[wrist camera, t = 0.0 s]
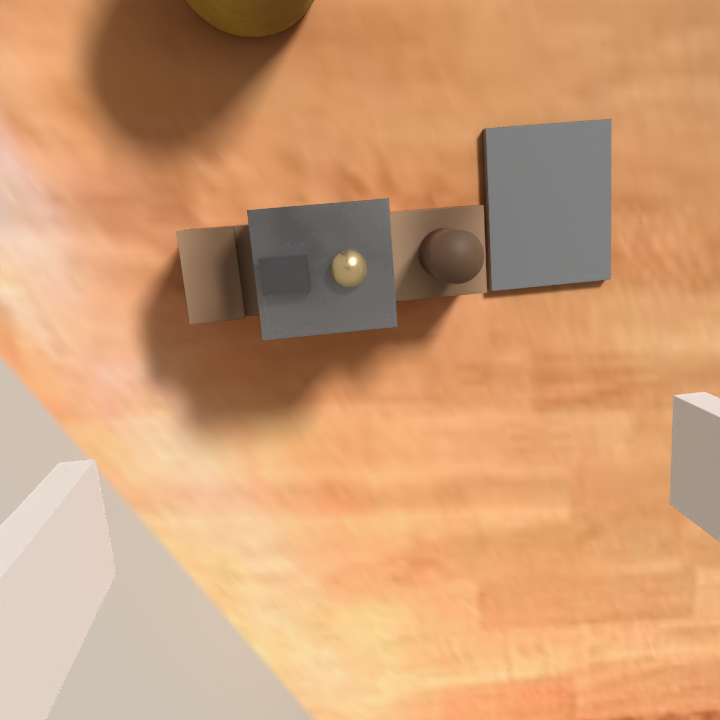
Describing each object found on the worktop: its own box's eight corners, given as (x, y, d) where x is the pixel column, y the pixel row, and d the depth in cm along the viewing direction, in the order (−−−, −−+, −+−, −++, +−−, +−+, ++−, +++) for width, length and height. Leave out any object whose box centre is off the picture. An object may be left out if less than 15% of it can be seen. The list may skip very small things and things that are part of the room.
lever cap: (265, 327, 37) (261, 343, 33) (251, 210, 36) (246, 210, 31) (386, 315, 38) (400, 329, 33) (377, 200, 36) (390, 198, 32)
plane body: (202, 309, 41) (182, 332, 33) (191, 229, 40) (167, 232, 32) (466, 284, 42) (506, 300, 35) (462, 205, 41) (503, 203, 34)
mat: (483, 129, 40) (486, 128, 40) (606, 120, 41) (611, 118, 40) (489, 289, 43) (491, 290, 42) (606, 278, 43) (610, 279, 43)
